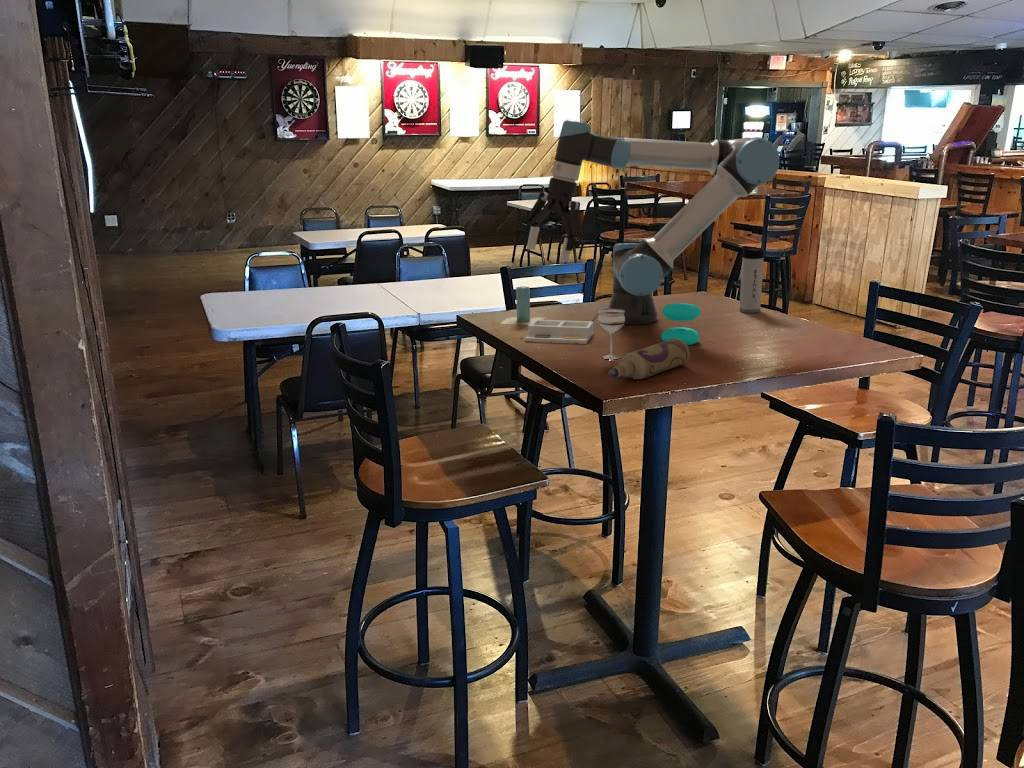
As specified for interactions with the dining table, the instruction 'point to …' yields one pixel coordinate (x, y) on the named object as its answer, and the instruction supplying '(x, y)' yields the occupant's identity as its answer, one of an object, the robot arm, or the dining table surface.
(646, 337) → the dining table surface
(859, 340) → the dining table surface
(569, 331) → the divided storage tray
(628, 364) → the decorative bottle
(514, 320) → the deck
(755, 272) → the travel mug
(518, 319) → the green rectangular block
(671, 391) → the dining table surface
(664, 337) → the donuts
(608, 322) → the wineglass
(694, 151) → the robot arm
